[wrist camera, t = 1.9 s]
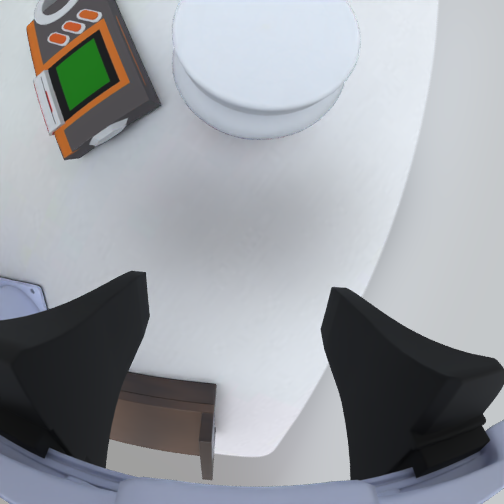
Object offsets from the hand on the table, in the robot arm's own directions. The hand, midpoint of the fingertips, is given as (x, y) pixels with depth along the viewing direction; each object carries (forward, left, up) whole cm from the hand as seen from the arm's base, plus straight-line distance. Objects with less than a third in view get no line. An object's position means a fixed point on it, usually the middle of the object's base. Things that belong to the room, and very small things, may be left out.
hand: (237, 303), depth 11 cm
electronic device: (-12, +12, -9) cm, 19 cm away
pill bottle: (0, +9, -9) cm, 13 cm away
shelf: (-8, -19, -9) cm, 22 cm away
